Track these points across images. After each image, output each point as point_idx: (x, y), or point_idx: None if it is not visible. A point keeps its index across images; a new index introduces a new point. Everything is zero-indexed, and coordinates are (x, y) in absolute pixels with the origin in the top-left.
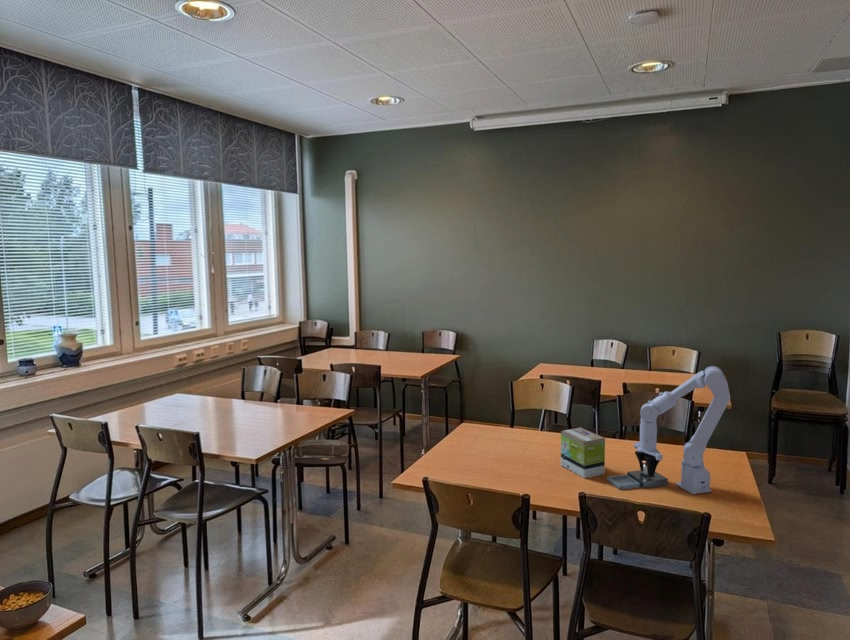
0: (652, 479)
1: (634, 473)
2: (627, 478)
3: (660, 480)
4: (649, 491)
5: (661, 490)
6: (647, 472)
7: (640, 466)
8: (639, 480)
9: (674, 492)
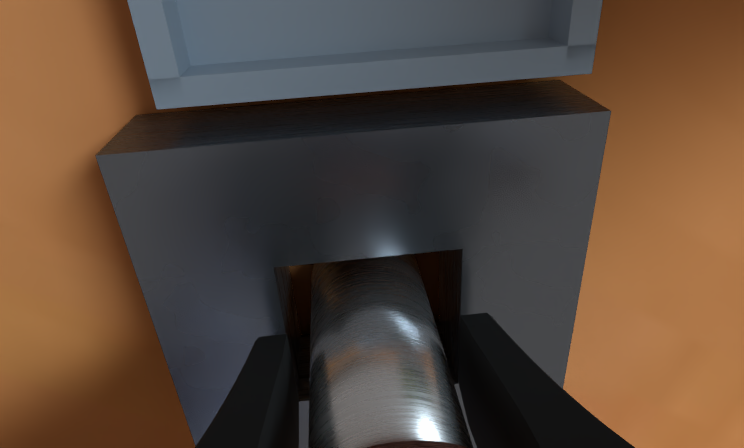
0: (194, 327)
1: (494, 190)
2: (495, 44)
3: (186, 401)
4: (18, 150)
5: (68, 305)
6: (319, 358)
7: (503, 356)
8: (220, 137)
9: (13, 398)
